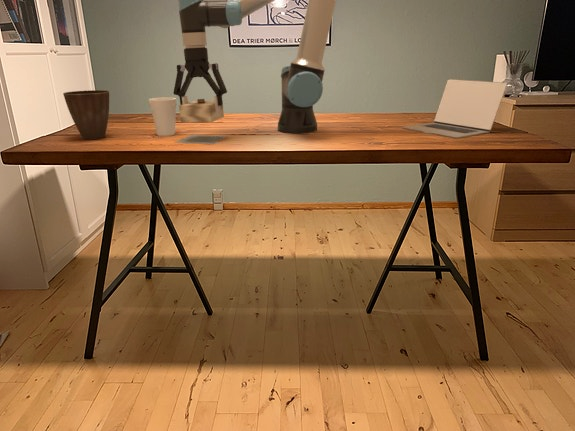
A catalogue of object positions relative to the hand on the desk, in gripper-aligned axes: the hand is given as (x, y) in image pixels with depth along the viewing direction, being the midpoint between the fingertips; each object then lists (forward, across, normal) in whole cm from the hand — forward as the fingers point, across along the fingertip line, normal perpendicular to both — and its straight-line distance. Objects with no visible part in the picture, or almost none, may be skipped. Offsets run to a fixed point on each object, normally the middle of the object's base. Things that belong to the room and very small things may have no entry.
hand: (202, 115), depth 156 cm
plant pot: (+7, +42, +3) cm, 43 cm away
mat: (+8, +1, 0) cm, 8 cm away
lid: (+1, 0, 0) cm, 1 cm away
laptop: (+12, -83, -35) cm, 91 cm away
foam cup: (+8, +18, -6) cm, 20 cm away
